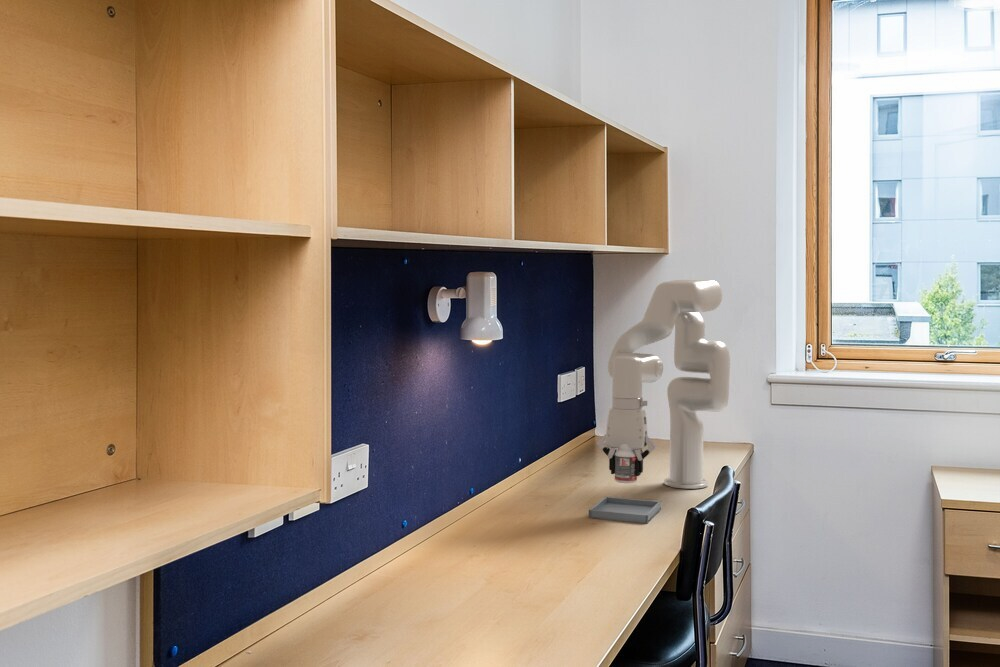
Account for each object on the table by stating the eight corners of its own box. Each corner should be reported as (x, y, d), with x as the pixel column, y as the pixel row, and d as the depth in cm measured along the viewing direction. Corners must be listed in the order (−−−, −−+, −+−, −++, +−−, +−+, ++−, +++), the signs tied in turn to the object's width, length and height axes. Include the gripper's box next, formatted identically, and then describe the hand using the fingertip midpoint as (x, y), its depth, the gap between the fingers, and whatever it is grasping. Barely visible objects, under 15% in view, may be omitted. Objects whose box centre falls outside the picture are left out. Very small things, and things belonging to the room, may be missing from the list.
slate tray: (605, 503, 260) (605, 496, 260) (661, 509, 254) (661, 501, 254) (588, 517, 245) (588, 509, 245) (647, 523, 239) (647, 515, 239)
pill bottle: (636, 484, 245) (636, 445, 245) (613, 483, 247) (614, 444, 246) (637, 479, 251) (638, 441, 251) (615, 478, 252) (616, 440, 252)
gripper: (663, 404, 248) (662, 474, 249) (598, 400, 254) (597, 469, 255) (657, 407, 241) (655, 479, 242) (590, 404, 247) (589, 474, 248)
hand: (625, 473), depth 249 cm, fingers closed on pill bottle, 5 cm apart
